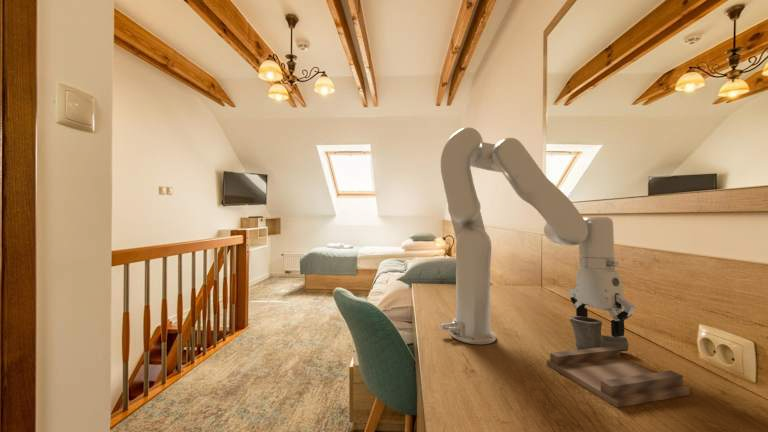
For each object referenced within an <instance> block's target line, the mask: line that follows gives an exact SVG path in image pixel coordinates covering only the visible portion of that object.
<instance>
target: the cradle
mask: <svg viewBox="0 0 768 432" xmlns="http://www.w3.org/2000/svg"><path fill="white" fill-rule="evenodd" d="M549 353H550V355H549V356H550V357H549V359H546V366H548V367H550V368H551V369H553V370H554V371H557V372H558V373H560V374H561V375H563V376H565V377H566V378H568V379H569V380H571V381H573V382H574V383H576V384H577V385H579V386H580V387H582V388H584V389H585V390H587V391H589V392H590V393H592V394H594V395H595V396H597V397H599V398H601V399H602V400H603V401H605V402H607V403H609V404H610V405H611V406H613V407H616V408H622V407H629V406H634V405H639V404H644V403H645V404H647V403H653V402H657V401H662V400H668V399H674V398H681V397H685V396H689V395H690V388H689V387H686V386H684V385H683V384H684V383H683V380H684V379H683V374H680V373H678V372H674V371H673V370H666V371H665V370H664V371H658V372H652V371H650V370H648V369H646V368H644V367H643V366H642V367H641V366H640V365H638V364H634V363H632V362H631V361H628V360H625V359H624V358H621V351H620V349H618V348H615V347H613V346H607V347H598V348H589V349H573V350H564V351H563V350H562V351H554V352H549Z"/></svg>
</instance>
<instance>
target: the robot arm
mask: <svg viewBox="0 0 768 432" xmlns="http://www.w3.org/2000/svg"><path fill="white" fill-rule="evenodd" d="M471 167H472V168H476V169H482V170H486V171H491V172H497V173H502V175H504V177H505V179H506V180H507V182H508V184H510V186H511V188H512V189H513V191H515V193H516V194H517V196H518V197H519V198H520V199H521V200H523V202H526V203H528V204H530V205H531V206H532V208H534V209H535V210H536V211H537V212H538V214H540V216H542V218H543V219H544V220H545V222H546V223H545V224H544V228H543V233H544V235H545V237H546V238H547V240H549V241H550V242H552V243H554V244H559V245H564V246H567V247H568V246H573V247H575V246H578V259H579V261H578V262H579V264H578V268H577V271H576V279H575V287H574V288H570V289H568V290H567V293H568V296H569V298H570V301H571V303H572V304H573V308H574V309H575V316H582V317H588V316H589V315H588V314H589V313H588V308H587V306H588V307H592V308H596V309H599V310H603V311H607V312H608V313H609V315H610V316H611V317H612V319H611V321H610V329H611V330H610V332H611V336H613V337H620V336H624V337H625V321H627V319H629V318H630V317H632V314H633V312H634V310H636V306H635V304H633V303H631V302H630V301H628V300H627V299H626V298H625V293H624V288H623V287H624V286H623V282H622V278H621V275H620V272H619V270H616V268H617V267H618V266H619V262H618V261H616V260H615V238H614V237H615V236H614V222H613V219H612V218H610V217H608V216H585V217H583V215H582V214H581V213H580V212H579V210H578V209H577V207H576V206H575V205H574V203H573V202H572V200H570V198H569V197H567V195H566V194H564V192H562V190H560V189H559V188H558V187H557V185H555V184H554V183H553V182H552V181H551V180H550V179H548V177H547V176H546V175H545V174H544V172H543V170H542V169H541V168H540V167H539V165H538V164H537V162H536V161H535V160H534V158H533V157H532V155H531V154H530V153H529V152H528V149H526V147H525V146H524V144H523V143H522V142H521V141H520V140H518V139H517V138H514V137H505V138H503V139H501V140H499V141H498V142H496V144H495V143H489V142H484V141H483V137H482V135H481V133H480V132H479V131H478V130H477V129H475V128H473V127H463V128H461V129H459V130H457V131H456V132H454V133H453V134H452V135H451V136H450V137H449V138H448V140H447V141H446V143H445V145H444V146H443V149H442V152H441V156H440V171H441V172H440V173H441V178H442V182H443V187H444V192H445V197H446V202H447V209H448V214H449V217H450V219H451V223H452V227H453V232H454V235H455V239H456V241H455V283H456V284H455V317H453V318H452V320H451V321H449V322H441V323H440V324H439V328H440V331H448V332H449V334H450V336H451V337H452V338H453V339H455V340H457V341H460V342H462V343H467V344H471V345H489V344H492V343H493V342H495V341H496V340H497V339H496V338H497V335H496V333H495V332H494V331H493V330H492V329H491V261H492V260H491V259H492V242H491V241H492V240H491V238H490V236H489V233H487V232H486V228H485V225H484V221H483V217H482V212H481V208H482V207H481V202H480V200H479V198H478V195H477V191H476V188H475V184H474V180H473V179H474V178H473V174H472V171H471V170H472V169H471Z"/></svg>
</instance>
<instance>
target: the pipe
mask: <svg viewBox="0 0 768 432" xmlns="http://www.w3.org/2000/svg"><path fill="white" fill-rule="evenodd" d="M569 321H570V323H571V326H572V329H573V334H574V344H575V347H576V348H577V349H578V350H580V349H589V348H598V347H607V346H613V347H615V348H618V349H620V352H628V350H629V342H628V338H626V336H625V335H624V336H620V337H613V336H612V335H604V334H603V335H602V325H603V322H602V320H599V319H596V318H592V317H582V316H576V315H573V316H570V317H569Z"/></svg>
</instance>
